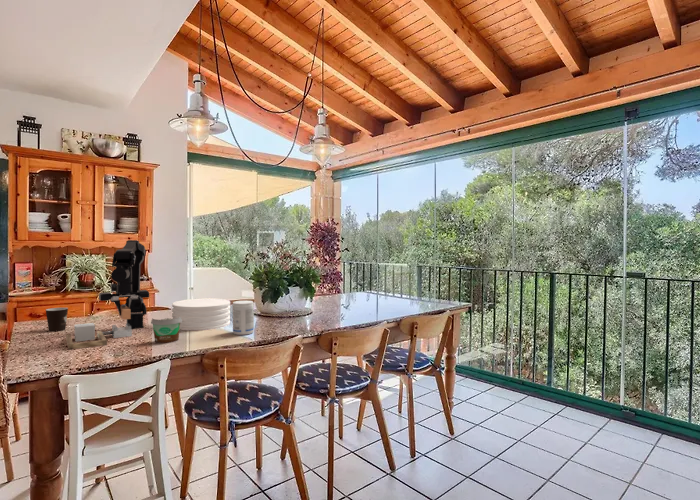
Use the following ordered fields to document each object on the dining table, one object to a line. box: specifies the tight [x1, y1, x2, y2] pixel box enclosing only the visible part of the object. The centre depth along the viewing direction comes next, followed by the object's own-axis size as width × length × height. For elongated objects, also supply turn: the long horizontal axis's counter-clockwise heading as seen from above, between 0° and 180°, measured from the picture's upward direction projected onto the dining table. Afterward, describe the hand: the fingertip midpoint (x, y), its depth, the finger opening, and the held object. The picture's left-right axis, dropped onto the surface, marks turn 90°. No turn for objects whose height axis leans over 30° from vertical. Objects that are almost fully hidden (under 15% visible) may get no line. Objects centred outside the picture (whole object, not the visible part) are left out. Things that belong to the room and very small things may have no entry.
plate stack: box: [171, 297, 231, 331], centre depth 213 cm, size 28×28×12 cm
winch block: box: [102, 322, 133, 339], centre depth 186 cm, size 11×7×4 cm, turn 127°
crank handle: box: [118, 303, 131, 321], centre depth 181 cm, size 3×9×5 cm, turn 37°
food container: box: [150, 317, 182, 344], centre depth 177 cm, size 12×6×10 cm, turn 117°
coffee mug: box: [45, 307, 69, 333], centre depth 197 cm, size 12×9×10 cm
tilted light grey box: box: [74, 322, 96, 343], centre depth 180 cm, size 7×7×6 cm
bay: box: [65, 330, 108, 350], centre depth 175 cm, size 13×20×2 cm, turn 37°
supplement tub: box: [232, 300, 255, 336], centre depth 195 cm, size 10×10×15 cm
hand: (124, 314), depth 181 cm, fingers closed on crank handle, 3 cm apart
